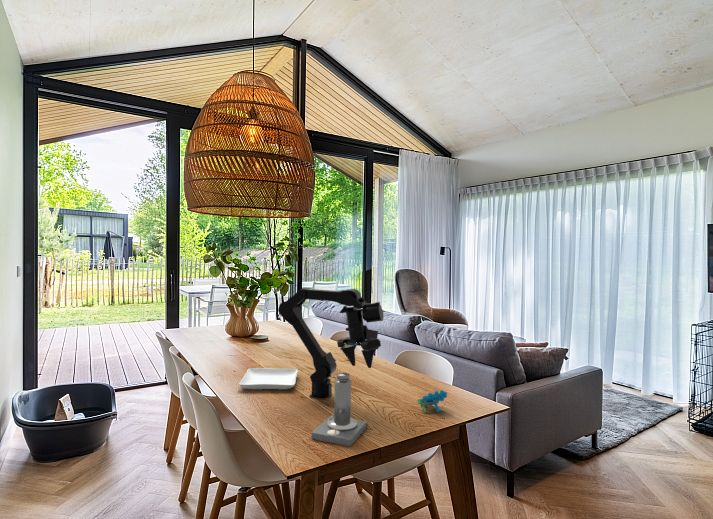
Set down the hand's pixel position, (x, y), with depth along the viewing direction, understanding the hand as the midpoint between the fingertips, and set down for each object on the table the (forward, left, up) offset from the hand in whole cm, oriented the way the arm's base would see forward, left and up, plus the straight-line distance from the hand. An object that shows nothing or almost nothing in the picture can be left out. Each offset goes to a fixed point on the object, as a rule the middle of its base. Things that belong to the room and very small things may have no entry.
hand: (361, 366), depth 156 cm
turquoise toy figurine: (+25, +3, -13) cm, 28 cm away
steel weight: (+4, -26, -10) cm, 28 cm away
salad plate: (-40, +4, -13) cm, 43 cm away
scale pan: (+4, -26, -10) cm, 29 cm away
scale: (+4, -28, -12) cm, 31 cm away
